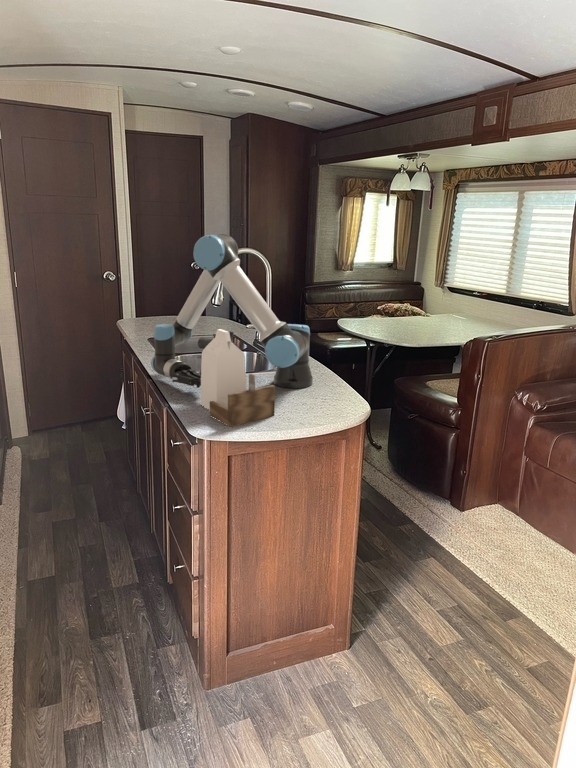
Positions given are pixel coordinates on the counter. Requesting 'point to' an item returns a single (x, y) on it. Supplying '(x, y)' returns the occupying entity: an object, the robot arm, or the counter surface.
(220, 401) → the milk
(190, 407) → the counter surface
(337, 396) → the counter surface
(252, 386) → the bracket
